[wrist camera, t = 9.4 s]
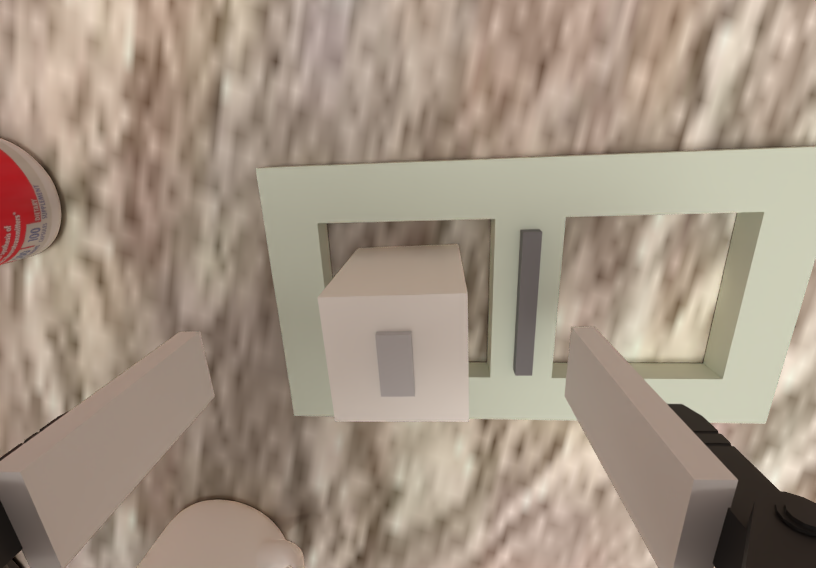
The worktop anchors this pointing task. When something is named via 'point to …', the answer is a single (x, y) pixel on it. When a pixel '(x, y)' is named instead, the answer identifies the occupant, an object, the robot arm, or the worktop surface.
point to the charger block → (398, 335)
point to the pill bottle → (25, 205)
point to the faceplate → (542, 260)
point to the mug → (222, 540)
